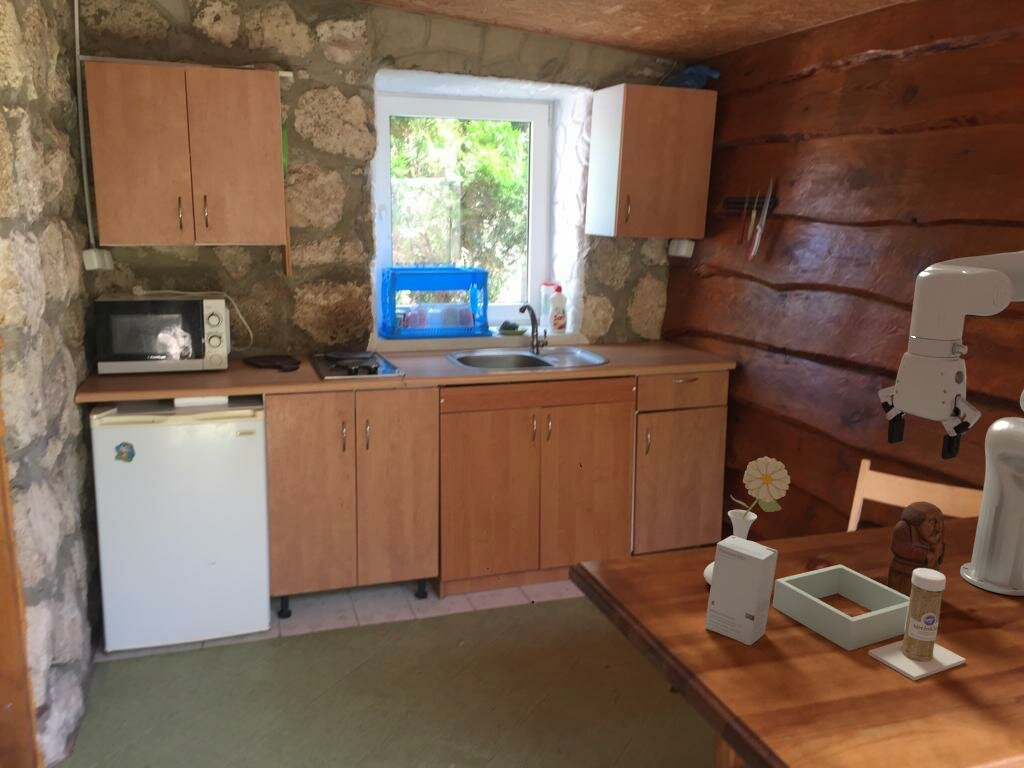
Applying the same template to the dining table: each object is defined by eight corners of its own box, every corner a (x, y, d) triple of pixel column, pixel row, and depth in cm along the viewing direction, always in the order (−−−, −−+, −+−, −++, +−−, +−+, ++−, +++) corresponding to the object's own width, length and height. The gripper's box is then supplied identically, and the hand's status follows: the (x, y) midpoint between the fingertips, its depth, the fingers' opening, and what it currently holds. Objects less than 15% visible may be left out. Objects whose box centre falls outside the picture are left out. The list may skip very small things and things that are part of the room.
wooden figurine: (914, 614, 142) (930, 515, 139) (878, 600, 147) (892, 504, 143) (944, 596, 150) (960, 502, 146) (909, 583, 155) (923, 491, 151)
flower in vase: (697, 592, 147) (710, 457, 142) (708, 568, 158) (720, 441, 152) (774, 608, 143) (790, 469, 137) (779, 582, 153) (795, 452, 148)
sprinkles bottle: (914, 663, 125) (927, 580, 123) (894, 648, 130) (906, 567, 127) (940, 660, 127) (953, 578, 124) (919, 645, 131) (931, 566, 128)
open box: (836, 590, 151) (840, 564, 150) (915, 630, 137) (919, 602, 136) (772, 606, 143) (775, 579, 142) (848, 650, 129) (852, 621, 128)
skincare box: (704, 629, 134) (712, 542, 131) (721, 616, 139) (729, 532, 136) (753, 648, 129) (763, 558, 126) (769, 634, 134) (779, 547, 131)
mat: (918, 638, 134) (919, 635, 134) (965, 662, 128) (965, 659, 127) (868, 654, 129) (868, 650, 129) (914, 680, 122) (914, 676, 122)
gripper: (1001, 354, 128) (985, 461, 132) (900, 337, 142) (889, 433, 146) (972, 359, 124) (957, 468, 128) (871, 341, 139) (861, 439, 143)
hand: (921, 449), depth 137 cm, fingers open, 9 cm apart
